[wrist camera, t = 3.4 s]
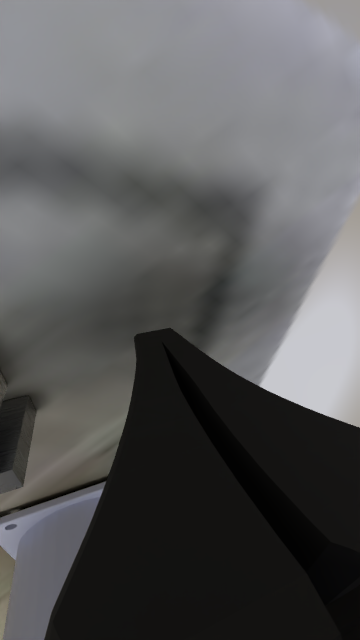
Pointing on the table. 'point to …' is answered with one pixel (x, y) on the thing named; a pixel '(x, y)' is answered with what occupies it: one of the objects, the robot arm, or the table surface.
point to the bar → (2, 388)
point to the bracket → (15, 441)
